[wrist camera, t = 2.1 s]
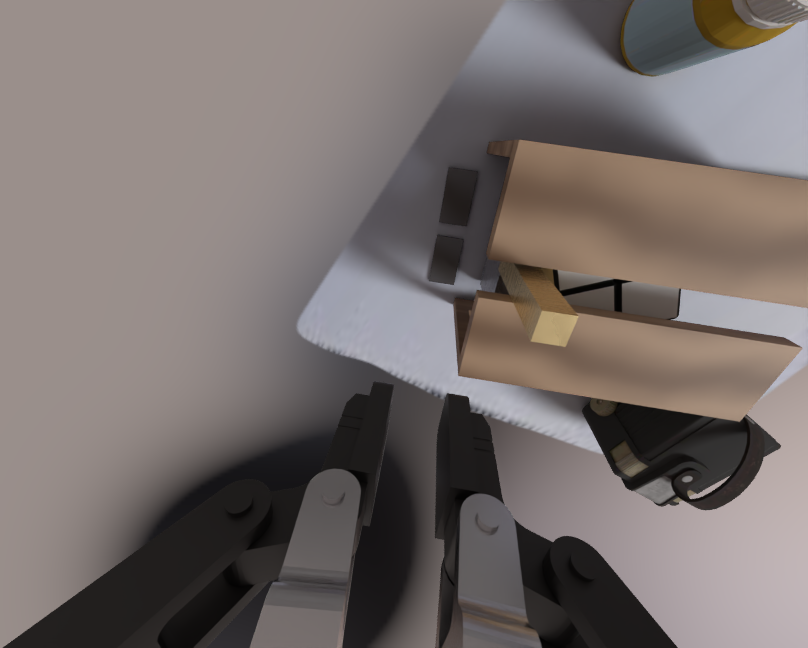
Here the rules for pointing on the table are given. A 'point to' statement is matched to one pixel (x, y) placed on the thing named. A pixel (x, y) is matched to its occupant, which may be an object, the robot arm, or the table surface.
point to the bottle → (700, 30)
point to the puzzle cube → (616, 294)
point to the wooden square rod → (532, 300)
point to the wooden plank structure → (633, 274)
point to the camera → (678, 451)
